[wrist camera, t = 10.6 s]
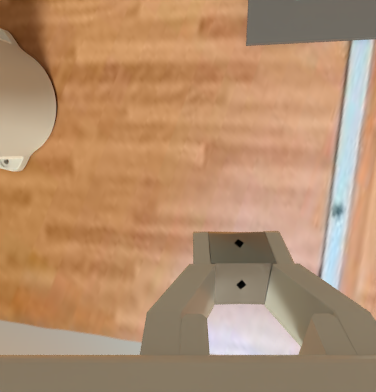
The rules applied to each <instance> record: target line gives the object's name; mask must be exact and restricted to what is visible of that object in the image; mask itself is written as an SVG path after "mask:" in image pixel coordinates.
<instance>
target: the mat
mask: <svg viewBox="0 0 376 392" xmlns="http://www.w3.org/2000/svg"><path fill="white" fill-rule="evenodd" d="M367 39H376V0H249V1H248V22H247V42H246V46H251V45H270V44H289V43H309V42H328V41H347V40H367Z"/></svg>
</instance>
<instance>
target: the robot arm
mask: <svg viewBox="0 0 376 392" xmlns="http://www.w3.org/2000/svg"><path fill="white" fill-rule="evenodd" d="M55 117H56V98H55V93H54V89H53V86H52V83H51V81H50V79H49V77H48V75H47V73H46V72H45V70H44V69H43V67H42V66H41V65H40V64H39V63H38V62H37V61H36V60H35V59H34V58H33V57H31V56H30V55H29V54H27V53H26V52H24V51H23V50H22V49H21V48H20V47H19V45H18V44H17V42H16V41H15V39H14V38H13V36H12V35H11V34H10V33H9V32H8V31H7V30H4V29H1V28H0V168H2V169H5V170H9V171H21V170H23V169H24V167H25V166H26V164H27V162H28V160H29V158H30V156H31V155H32V153H34V152H35V151H36V150H37V149H38V148H40V147H41V146H42V145H43V144H44V143H45V141H46V140H47V139H48V137H49V135H50V134H51V131H52V129H53V126H54V123H55ZM8 161H9V163H8ZM215 304H265V307H266V308H267V309H268V310H269V311H270V312H271V313H272V315H273V316H274V317H275V318H276V319H277V320H278V321H279V323H280V324H281V325H282V326H283V327H284V328H285V329H286V330H287V332H288V333H289V334H290V335H291V336H292V337H293V338H294V339H295V341H296V342H297V343H298V344H299V345H300V346H301V349H300V352H299V355H209V341H208V327H207V318H208V316H209V314H210V312H211V311H212V309H213V307H214V305H215ZM0 392H376V321H375V319H374V318H373V316H372V315H371V313H370V312H369V311H367V310H366V309H364V308H363V307H361V306H360V305H358V304H357V303H356V302H354V301H353V300H351V299H350V298H348V297H347V296H345V295H344V294H342V293H341V292H340V291H338V290H337V289H335V288H334V287H332V286H331V285H329V284H328V283H327V282H325V281H324V280H322V279H321V278H319V277H318V276H316V275H315V274H313V273H312V272H311V271H309V270H308V269H306V268H305V267H303V266H302V265H300V264H295V263H294V261H293V259H292V257H291V255H290V253H289V251H288V249H287V246H286V244H285V242H284V240H283V238H282V236H281V234H280V232H278V231H264V232H193V264H189V265H188V266H187V267H186V269H185V270H184V271H183V272H182V273H181V274H180V275H179V277H178V278H177V279H176V280H175V281H174V282H173V283H172V285H171V286H170V287H169V288H168V289H167V290H166V291H165V293H164V294H163V295H162V296H161V297H160V298H159V299H158V301H157V302H156V303H155V304H154V305H153V306H152V307H151V309H150V310H149V311H148V312H147V315H146V321H145V327H144V333H143V339H142V346H141V352H140V355H0Z"/></svg>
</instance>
